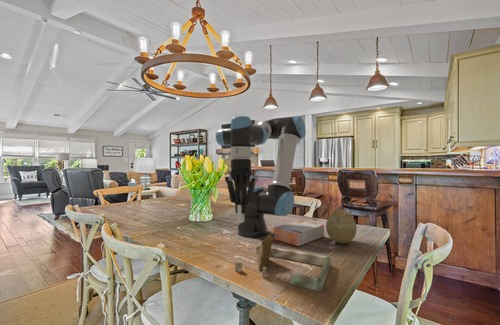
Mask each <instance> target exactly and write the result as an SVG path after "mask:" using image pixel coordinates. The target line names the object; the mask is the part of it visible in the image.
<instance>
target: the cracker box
mask: <svg viewBox="0 0 500 325" xmlns="http://www.w3.org/2000/svg"><path fill="white" fill-rule="evenodd" d="M324 237H325V224H322V223H321V224H320V223H317V222H311V221H307V220H304V219H303V220H302V219H300V220H296V221H292V222H290V223H284V224H282V225H281V224H280V225H278V226H275V227H273V240H276V241H278V242H282V243H286V244H289V245H292V246H294V247H300V246H303V245H306V244H308V243H310V242H313V241H316V240H319V239H321V238H324Z"/></svg>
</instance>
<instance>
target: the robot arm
mask: <svg viewBox="0 0 500 325" xmlns="http://www.w3.org/2000/svg"><path fill="white" fill-rule="evenodd" d="M306 131H307V130H306V126H305V121H304V119H303V117H301V116H299V115H297V116H294V115H292V116H288V117H286V116H285V117H275V118H272V119H268V120H265V121H264V120H263V121H260V122H258V123H256V124H252V119H251V117H249V116H248V115H247V116H245V115H244V116H243V115H238V116H237V115H236V116H233V117H232V118H231V120H230V127H227V128H226V127H224V128H221V129H218V130H217V131H216V133H215V141H216V143H217V145H219V146H224V147H225V146H229V147H230V158H232V159H230V173H229V175H228V176H225V177H224V181H225V182H226V184H227V189H228V195H229V199H230V202H231V203H233V204H235V213H236V214H237V220H236V222H237V223H238V227H237V234H238V235H240V236H243V237H247V238H258V237H263V236H267V234H268V226H267V223H266V221H265V215H270V216H277V217H287V216H288V215H290V214H291V212H292V211H293V208H294V205H295V195H294V193H293V191H292V188H291V187H290V182H291V177H292V172H293V167H294V160H295V155H296V150H297V145H299V144H300V142H301V139H303V138H305V137H306V134H307V132H306ZM269 139H270V140H278V141H279V142H280V143H279V147H278V152H277V157H276V161H275V165H274V166H275V167H274V171H273V176H272V180H271V182H270V183H269V184H268V186H267V189H265V187H264V186H256V184H257V182H258V179H259V178H258V177H255V176H253V173H252V160H251V159H250V158H252V145H256V146H260V145H263V144H265V143H266V142H267V140H269ZM248 183H249V184H248Z"/></svg>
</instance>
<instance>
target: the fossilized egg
mask: <svg viewBox="0 0 500 325" xmlns="http://www.w3.org/2000/svg"><path fill="white" fill-rule="evenodd" d="M325 228H326V229H325V231H326V232H327V235H328V237H329V238H330V239H331V240H332V241H333V242H335V243H336V244H347V243H350V242H352V240H353V239H354V238H355V236H356V234H357V229H358V228H357V224H356V220H355V219H354V218H353V216H352V214H350V212H348V211H347V210H345V209H343V208H338V209H335V210H334V211H332V212H331V213H330V214H329V216H328V218H327V219H326V223H325Z"/></svg>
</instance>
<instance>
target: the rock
mask: <svg viewBox="0 0 500 325" xmlns="http://www.w3.org/2000/svg"><path fill="white" fill-rule="evenodd" d="M273 241H274V236H272V235H271V234H268V235H265V237H264V238H263V241H262V242H261V244H260V245H261V246H260V249H259V251H258V253H257V259H256V263H257V265H258V270H260V271H263V267H268V262H269V261H270V257H271V256H270V251H271V247H273Z"/></svg>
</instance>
